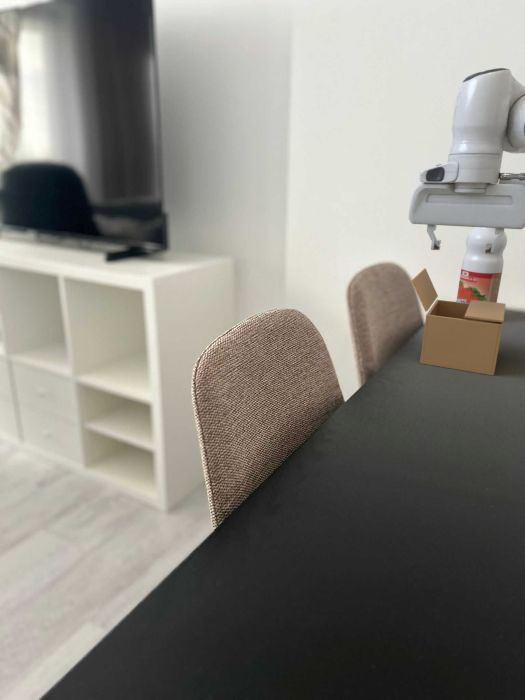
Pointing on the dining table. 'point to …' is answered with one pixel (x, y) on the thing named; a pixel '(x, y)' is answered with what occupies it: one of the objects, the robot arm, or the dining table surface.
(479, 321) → the brown open box
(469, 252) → the fruit juice
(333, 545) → the dining table surface
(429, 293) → the cardboard box flap
